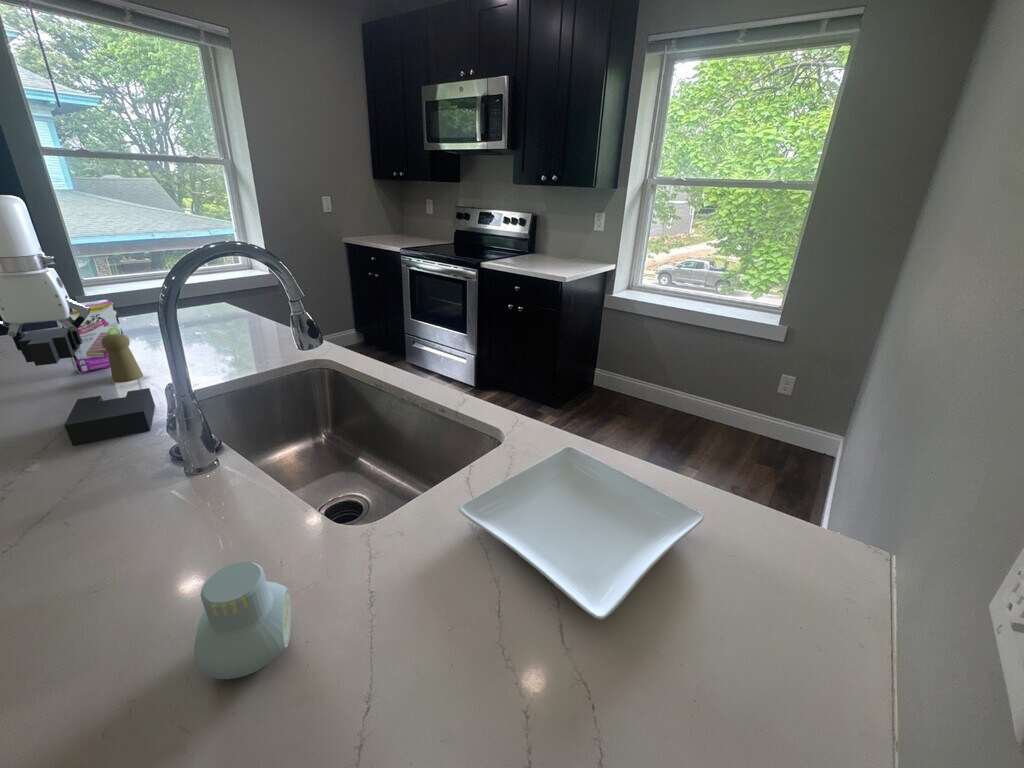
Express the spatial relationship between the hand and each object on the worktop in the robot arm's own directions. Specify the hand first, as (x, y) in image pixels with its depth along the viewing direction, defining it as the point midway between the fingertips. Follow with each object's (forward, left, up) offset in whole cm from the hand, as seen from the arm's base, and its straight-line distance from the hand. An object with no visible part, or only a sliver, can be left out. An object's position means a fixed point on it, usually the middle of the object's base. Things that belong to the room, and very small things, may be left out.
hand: (52, 349), depth 97 cm
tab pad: (0, -1, -1) cm, 2 cm away
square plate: (+74, -85, -13) cm, 113 cm away
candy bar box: (+2, +23, -13) cm, 27 cm away
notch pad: (+9, -15, -13) cm, 22 cm away
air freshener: (+29, -82, -13) cm, 88 cm away
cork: (+8, +12, -13) cm, 20 cm away
